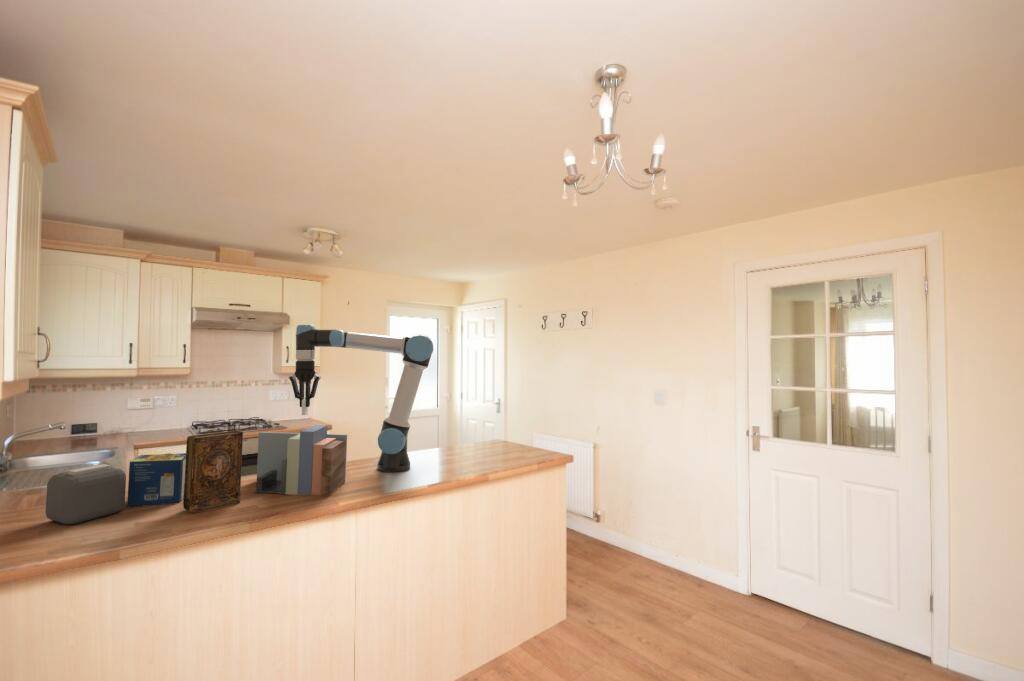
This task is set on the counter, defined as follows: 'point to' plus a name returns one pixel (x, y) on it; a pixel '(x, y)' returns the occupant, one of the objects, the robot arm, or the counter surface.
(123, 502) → the grey rounded-edge box
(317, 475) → the terracotta book
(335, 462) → the end stop
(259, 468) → the back rail
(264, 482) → the bookend
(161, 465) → the protein box
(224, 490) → the book
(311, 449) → the navy book
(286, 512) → the counter surface
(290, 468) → the green book
